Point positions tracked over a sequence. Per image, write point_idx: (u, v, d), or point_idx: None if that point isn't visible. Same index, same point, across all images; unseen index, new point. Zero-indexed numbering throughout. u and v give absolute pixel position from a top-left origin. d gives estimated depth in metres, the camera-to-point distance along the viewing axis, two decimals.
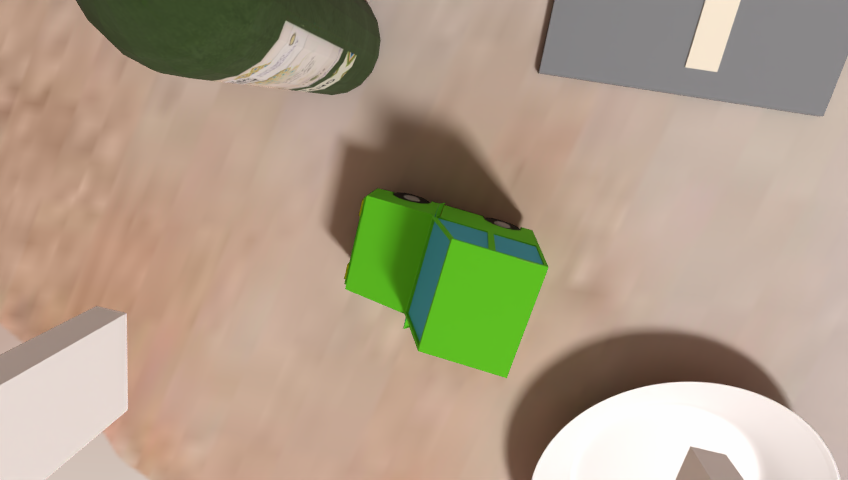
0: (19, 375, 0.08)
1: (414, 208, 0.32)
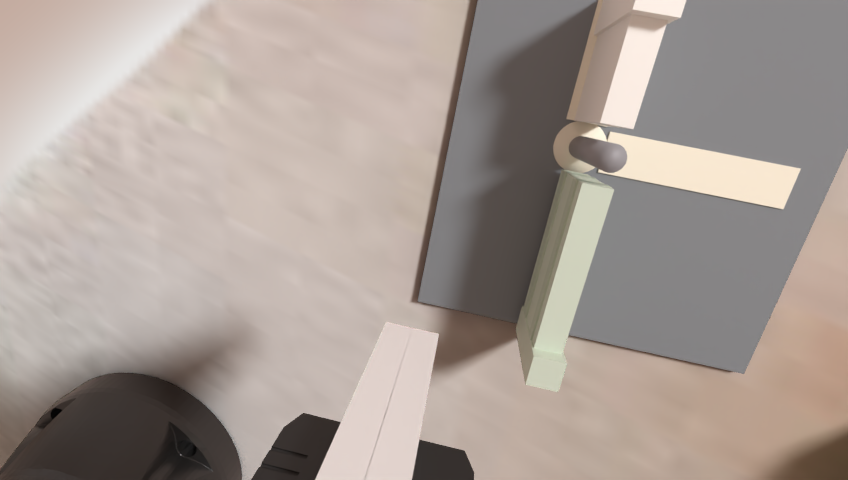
0: (396, 381, 0.10)
1: None
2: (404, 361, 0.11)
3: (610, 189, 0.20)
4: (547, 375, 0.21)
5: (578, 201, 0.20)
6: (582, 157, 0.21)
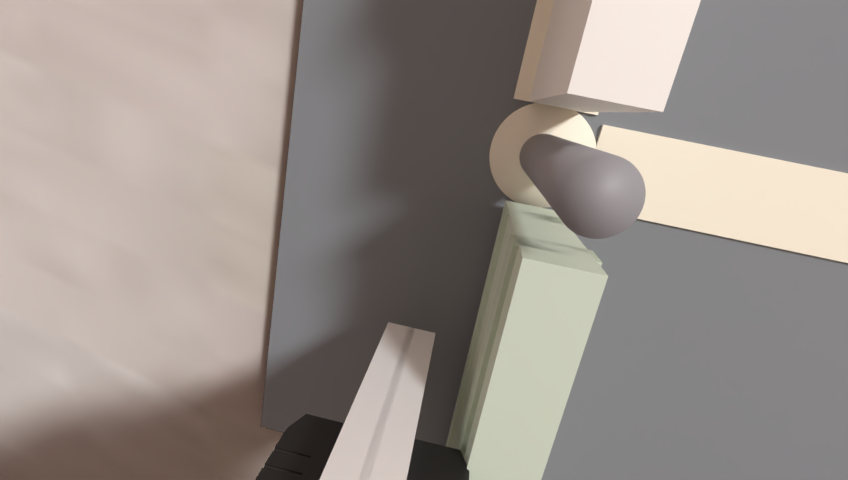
0: (399, 382, 0.10)
1: None
2: (400, 360, 0.11)
3: (598, 274, 0.07)
4: None
5: (514, 303, 0.08)
6: (534, 183, 0.09)
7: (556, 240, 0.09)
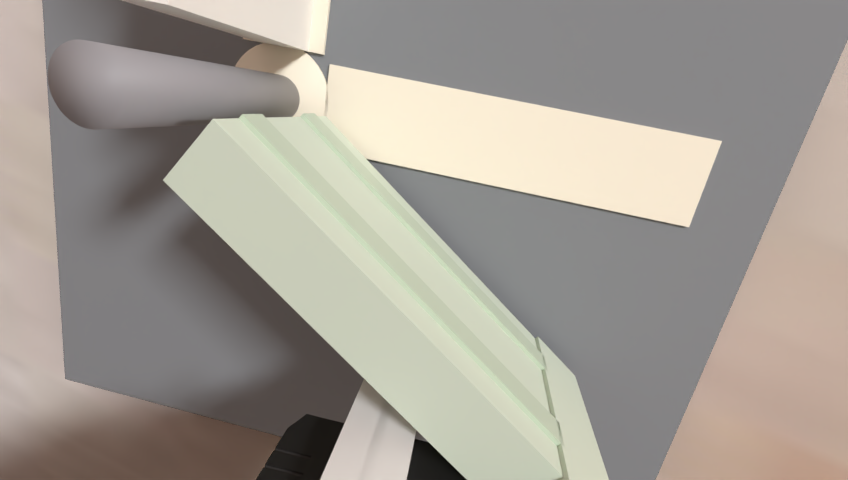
0: None
1: None
2: None
3: (211, 126, 0.07)
4: None
5: (203, 213, 0.07)
6: None
7: None
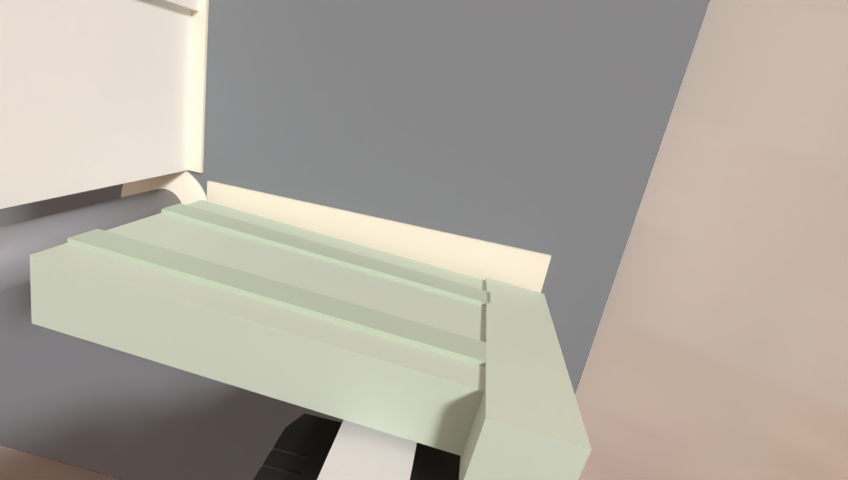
0: None
1: None
2: None
3: (35, 261, 0.08)
4: (525, 472, 0.07)
5: (73, 331, 0.08)
6: None
7: None
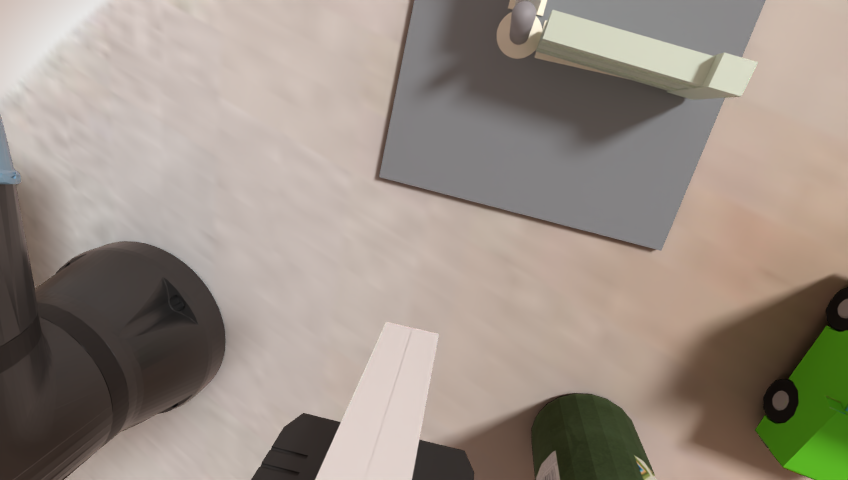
0: (396, 381, 0.10)
1: (818, 424, 0.27)
2: (404, 361, 0.11)
3: (552, 12, 0.23)
4: (734, 73, 0.21)
5: (558, 41, 0.23)
6: (510, 29, 0.25)
7: (545, 27, 0.24)
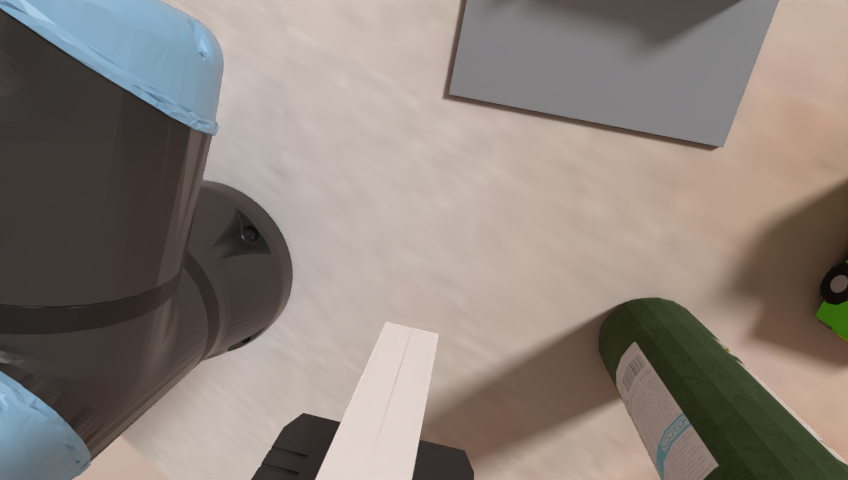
0: (396, 381, 0.10)
1: None
2: (404, 361, 0.11)
3: None
4: None
5: None
6: None
7: None
